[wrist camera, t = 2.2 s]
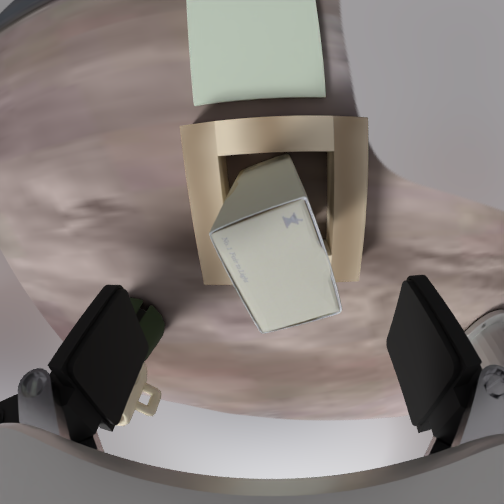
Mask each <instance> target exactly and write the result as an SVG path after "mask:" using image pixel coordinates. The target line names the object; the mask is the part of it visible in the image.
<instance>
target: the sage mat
mask: <svg viewBox="0 0 504 504" xmlns="http://www.w3.org/2000/svg"><path fill="white" fill-rule="evenodd" d="M187 20H188V38H189V53H190V66H191V78H192V90H193V101H194V106H199V105H206V104H214V103H222V102H231V101H241V100H253V99H269V98H303V97H312V98H325V97H326V91H325V78H324V66H323V56H322V46H321V38H320V30H319V22H318V15H317V8H316V1H315V0H187Z"/></svg>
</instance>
